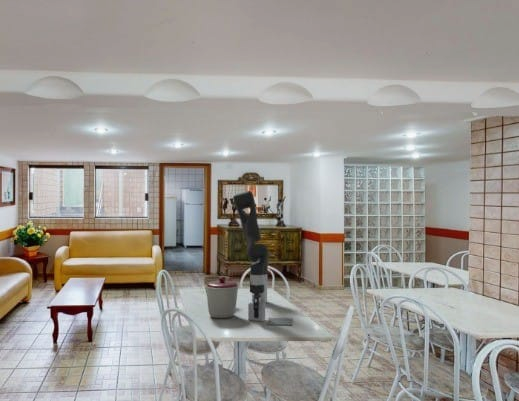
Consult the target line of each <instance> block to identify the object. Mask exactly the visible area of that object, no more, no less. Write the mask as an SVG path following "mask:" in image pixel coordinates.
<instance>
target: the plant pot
mask: <svg viewBox="0 0 519 401" xmlns="http://www.w3.org/2000/svg"><path fill="white" fill-rule="evenodd" d="M221 276H222V275H207V276H204V277H203V283H204V289H205V294H206V295H207V290H206V287H205V285H206V284H208V283H209V282H212V281H219V277H221ZM224 277H225V278H226V280H225V281H230V277H229V276H224Z"/></svg>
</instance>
